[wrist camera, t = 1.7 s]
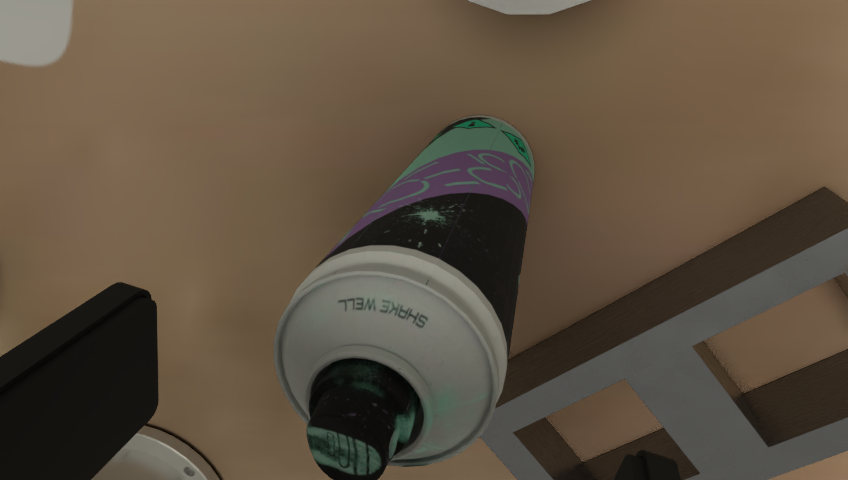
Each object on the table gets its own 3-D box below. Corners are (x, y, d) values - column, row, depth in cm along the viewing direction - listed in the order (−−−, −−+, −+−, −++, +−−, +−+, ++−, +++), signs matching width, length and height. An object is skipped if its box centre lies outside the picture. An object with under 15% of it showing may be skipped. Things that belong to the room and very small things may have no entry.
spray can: (554, 190, 28) (546, 526, 10) (461, 235, 30) (314, 581, 12) (501, 93, 27) (384, 278, 9) (407, 147, 29) (157, 387, 11)
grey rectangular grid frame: (575, 491, 35) (577, 552, 31) (477, 377, 33) (466, 426, 29) (930, 347, 27) (992, 405, 23) (824, 186, 25) (873, 220, 21)
